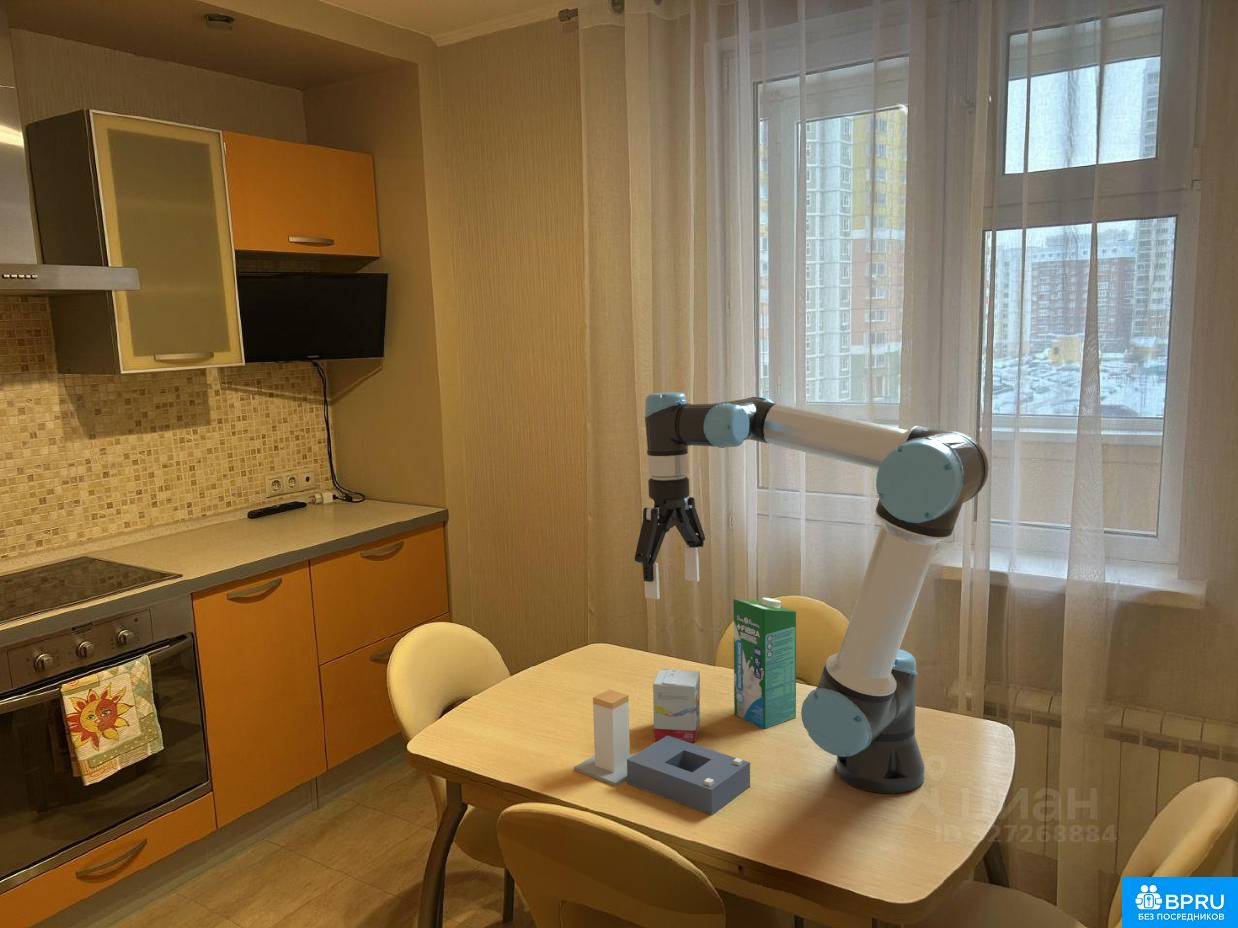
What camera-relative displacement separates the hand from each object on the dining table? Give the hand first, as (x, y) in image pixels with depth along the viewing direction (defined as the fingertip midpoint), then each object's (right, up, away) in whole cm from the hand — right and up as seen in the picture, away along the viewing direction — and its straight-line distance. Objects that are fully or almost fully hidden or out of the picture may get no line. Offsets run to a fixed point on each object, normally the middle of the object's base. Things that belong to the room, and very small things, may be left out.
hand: (673, 589), depth 171 cm
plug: (-11, -32, -2) cm, 34 cm away
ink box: (+2, -31, +12) cm, 33 cm away
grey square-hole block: (+2, -33, -9) cm, 35 cm away
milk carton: (+20, -29, +18) cm, 40 cm away
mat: (-11, -33, -2) cm, 35 cm away
